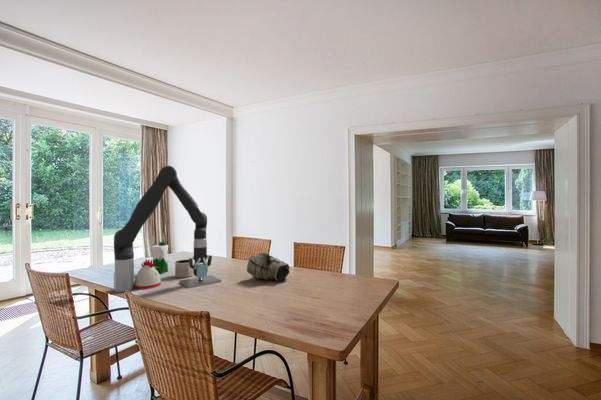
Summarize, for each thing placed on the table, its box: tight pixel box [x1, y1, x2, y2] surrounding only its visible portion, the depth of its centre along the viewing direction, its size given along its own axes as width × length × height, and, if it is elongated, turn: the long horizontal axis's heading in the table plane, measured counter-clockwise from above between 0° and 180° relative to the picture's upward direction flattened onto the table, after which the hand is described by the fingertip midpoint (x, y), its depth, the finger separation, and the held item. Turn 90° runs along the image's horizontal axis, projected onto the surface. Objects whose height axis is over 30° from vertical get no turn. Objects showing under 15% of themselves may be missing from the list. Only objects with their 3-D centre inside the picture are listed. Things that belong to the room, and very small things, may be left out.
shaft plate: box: [178, 274, 222, 289], centre depth 188 cm, size 20×14×6 cm
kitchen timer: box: [134, 259, 162, 290], centre depth 181 cm, size 14×14×15 cm
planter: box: [174, 259, 194, 279], centre depth 202 cm, size 11×11×10 cm
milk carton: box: [151, 241, 169, 275], centre depth 212 cm, size 9×9×20 cm
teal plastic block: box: [193, 263, 208, 278], centre depth 188 cm, size 6×6×7 cm
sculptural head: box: [246, 251, 290, 282], centre depth 197 cm, size 17×21×25 cm
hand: (200, 274), depth 188 cm, fingers closed on teal plastic block, 5 cm apart
